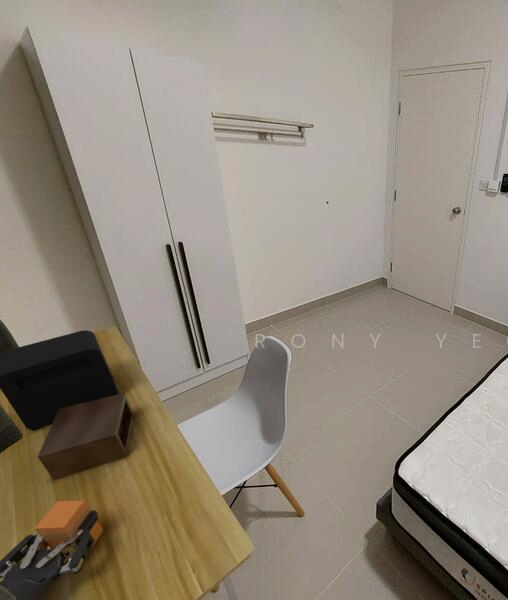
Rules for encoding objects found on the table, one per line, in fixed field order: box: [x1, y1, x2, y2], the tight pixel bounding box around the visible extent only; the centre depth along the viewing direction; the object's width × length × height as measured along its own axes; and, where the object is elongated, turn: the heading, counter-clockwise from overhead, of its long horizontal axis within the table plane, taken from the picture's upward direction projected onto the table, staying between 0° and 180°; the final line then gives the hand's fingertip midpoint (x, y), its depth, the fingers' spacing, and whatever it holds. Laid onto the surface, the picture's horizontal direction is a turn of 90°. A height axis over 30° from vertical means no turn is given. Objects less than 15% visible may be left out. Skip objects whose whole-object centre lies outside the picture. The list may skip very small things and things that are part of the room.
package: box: [34, 500, 104, 558], centre depth 65 cm, size 5×5×11 cm
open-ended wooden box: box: [37, 392, 135, 481], centre depth 86 cm, size 14×16×9 cm
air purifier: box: [0, 329, 120, 431], centre depth 96 cm, size 20×15×20 cm
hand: (80, 513), depth 67 cm, fingers closed on package, 5 cm apart
